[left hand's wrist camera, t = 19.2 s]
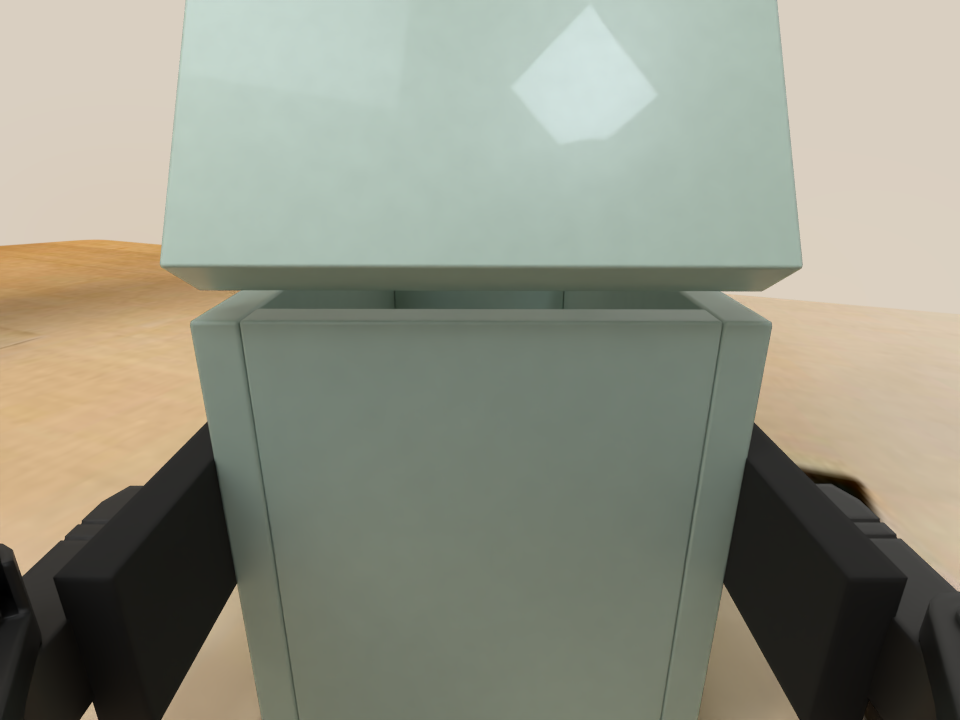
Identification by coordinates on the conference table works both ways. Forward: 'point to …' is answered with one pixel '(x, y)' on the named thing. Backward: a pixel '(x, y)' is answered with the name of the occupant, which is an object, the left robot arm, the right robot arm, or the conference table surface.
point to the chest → (480, 495)
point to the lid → (481, 146)
